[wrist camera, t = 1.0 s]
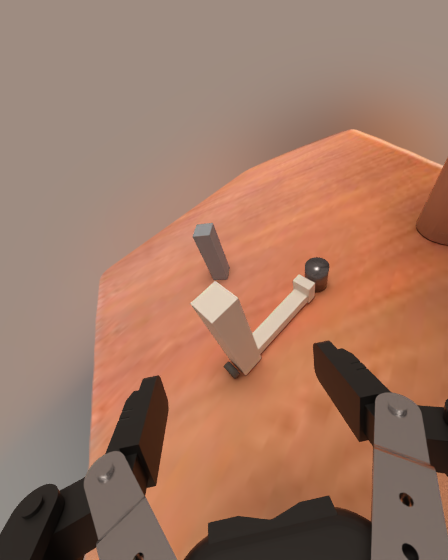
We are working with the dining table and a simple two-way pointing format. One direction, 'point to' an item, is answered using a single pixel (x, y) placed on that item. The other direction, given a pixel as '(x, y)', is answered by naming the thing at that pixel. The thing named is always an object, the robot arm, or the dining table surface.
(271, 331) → the beige l-shaped bracket
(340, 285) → the dining table surface
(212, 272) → the post
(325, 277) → the post
